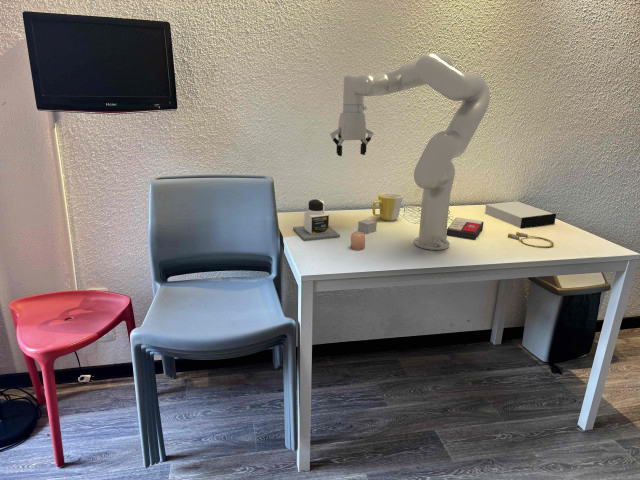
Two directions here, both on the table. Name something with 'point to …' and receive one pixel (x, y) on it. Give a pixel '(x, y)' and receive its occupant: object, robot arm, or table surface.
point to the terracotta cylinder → (357, 241)
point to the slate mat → (307, 236)
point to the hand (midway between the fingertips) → (351, 155)
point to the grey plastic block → (367, 226)
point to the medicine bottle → (316, 218)
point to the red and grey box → (465, 228)
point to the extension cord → (527, 238)
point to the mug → (388, 205)
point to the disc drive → (520, 214)
